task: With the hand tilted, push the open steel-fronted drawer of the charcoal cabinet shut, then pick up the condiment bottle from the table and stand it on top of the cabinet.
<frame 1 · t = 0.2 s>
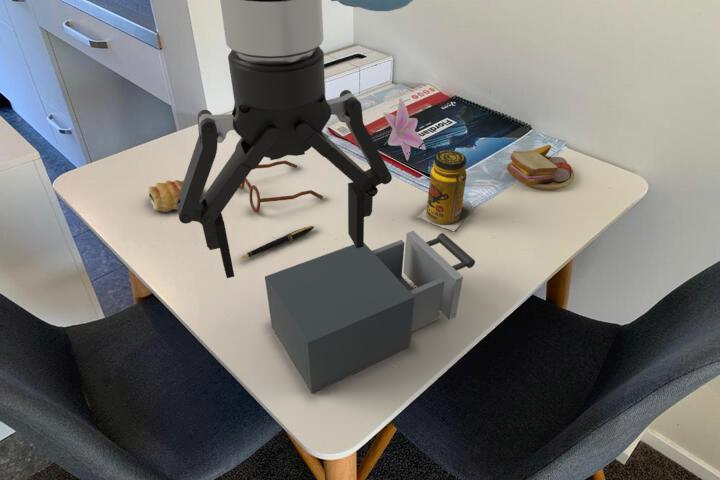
hand: (294, 254, 54), 20 cm above the table, tool pointing down, fingers open, 13 cm apart
condiment: (445, 214, 94), on the table
toy sandwich meal: (538, 177, 104), on the table
fountain pen: (278, 246, 87), on the table
glasses: (278, 192, 99), on the table
pastry: (174, 202, 97), on the table
cabinet: (339, 337, 71), on the table
lily: (401, 151, 112), on the table
drawer: (406, 284, 73), point 5 cm above the table, slide at 7.0 cm
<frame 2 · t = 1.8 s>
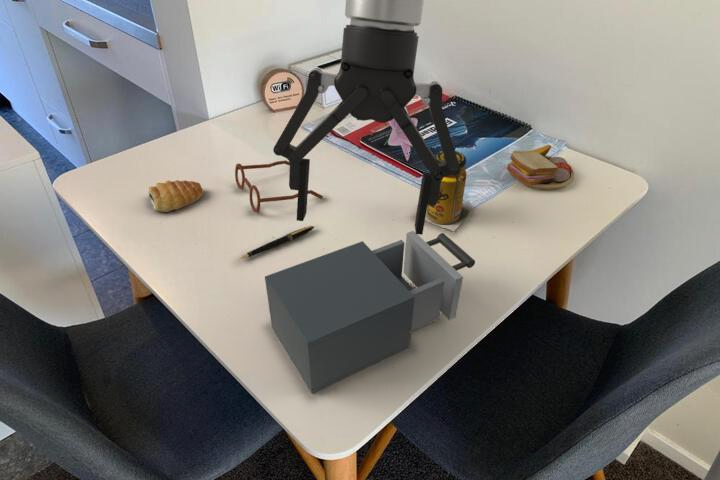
hand: (359, 223, 60), 19 cm above the table, tool tilted 15°, fingers open, 13 cm apart
nothing on the table moved.
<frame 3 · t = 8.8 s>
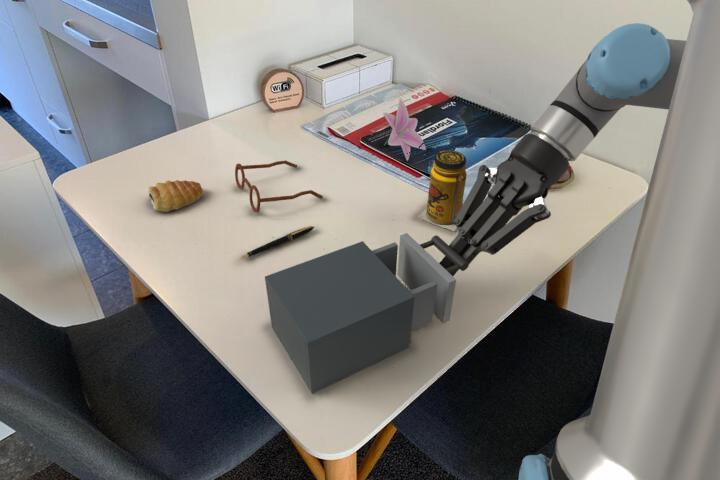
hand: (439, 277, 76), 3 cm above the table, tool tilted 45°, fingers closed
drawer: (400, 287, 72), point 5 cm above the table, slide at 5.9 cm, touching gripper
everything else where it was.
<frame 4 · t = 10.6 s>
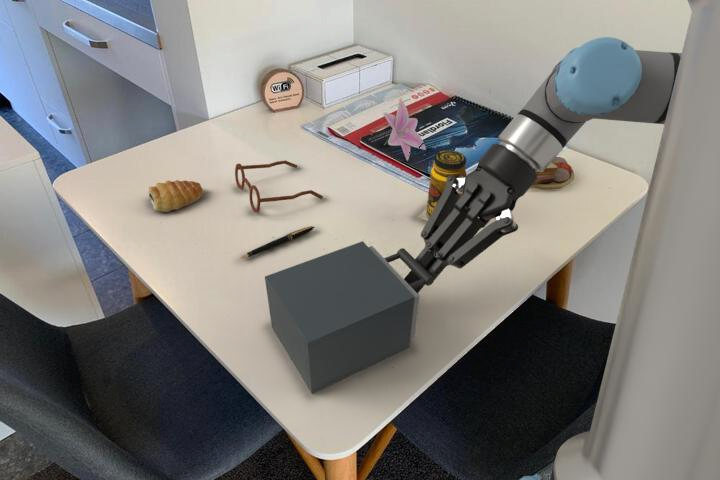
hand: (406, 291, 73), 3 cm above the table, tool tilted 45°, fingers closed
drawer: (363, 302, 70), point 5 cm above the table, slide at 0.0 cm, touching cabinet, gripper
everything else where it was.
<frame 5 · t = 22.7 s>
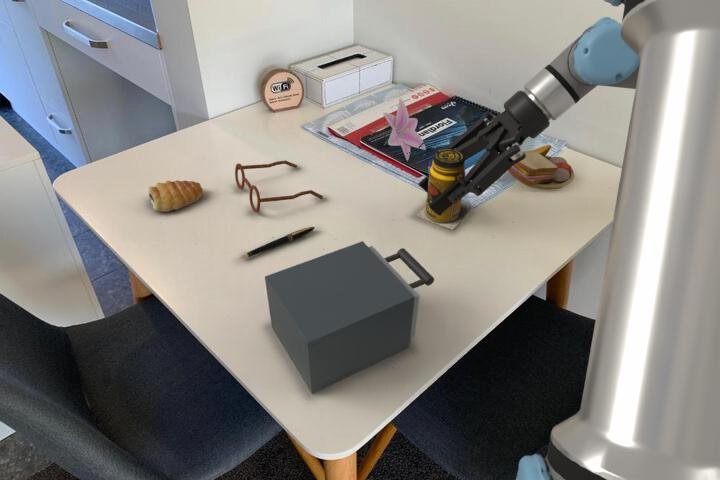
hand: (428, 199, 91), 4 cm above the table, tool tilted 45°, fingers closed on condiment, 6 cm apart
condiment: (444, 213, 95), on the table, touching gripper
drawer: (363, 302, 70), point 5 cm above the table, slide at 0.0 cm, touching cabinet
everything else where it was.
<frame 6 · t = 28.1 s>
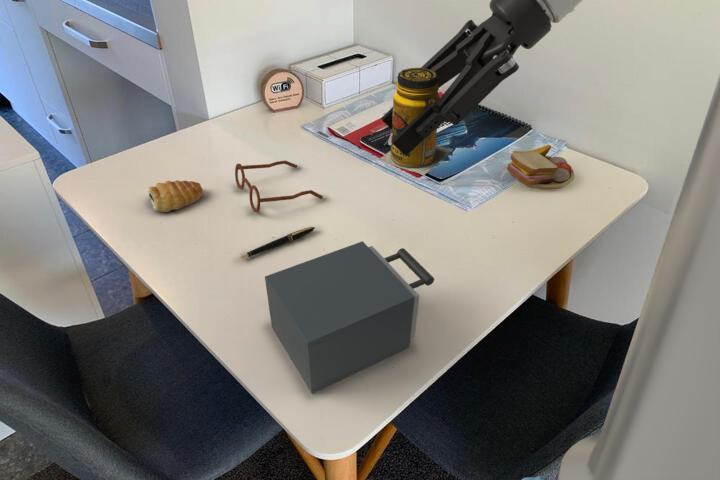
hand: (393, 136, 70), 22 cm above the table, tool tilted 45°, fingers closed on condiment, 6 cm apart
condiment: (416, 157, 73), point 18 cm above the table, touching gripper
everything else where it was.
when the fingers open (13 cm above the table, at t = 33.5 s): condiment stays where it is, resting on cabinet.
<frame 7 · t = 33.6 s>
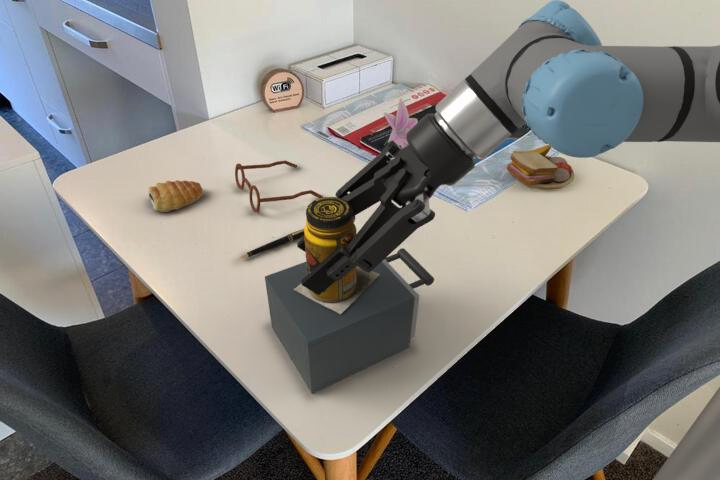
hand: (307, 268, 63), 13 cm above the table, tool tilted 45°, fingers open, 6 cm apart
condiment: (337, 284, 66), point 9 cm above the table, touching cabinet
everything else where it was.
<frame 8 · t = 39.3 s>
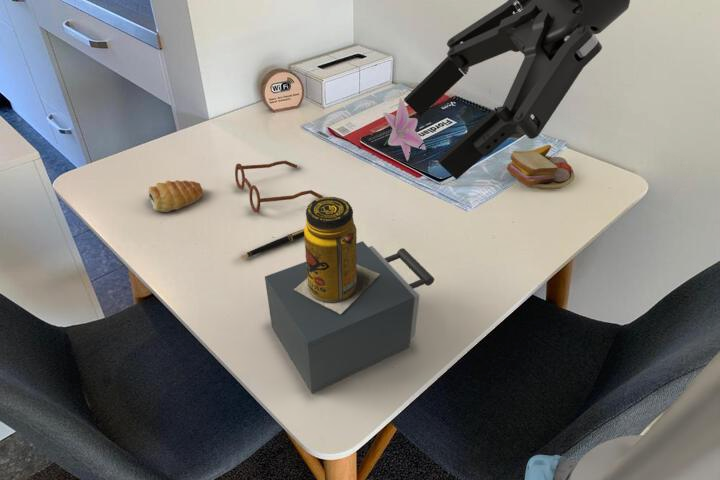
hand: (427, 136, 54), 30 cm above the table, tool tilted 45°, fingers open, 13 cm apart
nothing on the table moved.
at the end: drawer slide at 0.0 cm; condiment inside the target area on the cabinet (0.6 cm from its centre), point 9.4 cm above the cabinet's base; condiment tilted 0° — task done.
